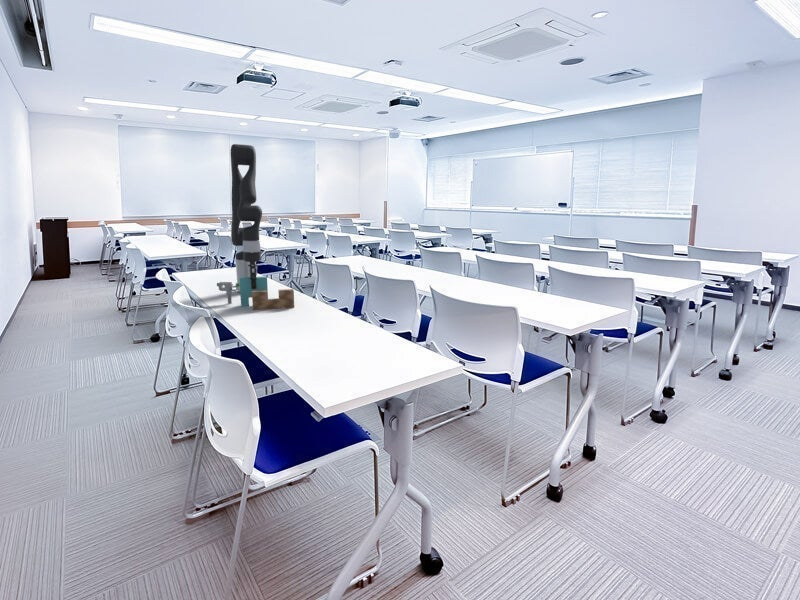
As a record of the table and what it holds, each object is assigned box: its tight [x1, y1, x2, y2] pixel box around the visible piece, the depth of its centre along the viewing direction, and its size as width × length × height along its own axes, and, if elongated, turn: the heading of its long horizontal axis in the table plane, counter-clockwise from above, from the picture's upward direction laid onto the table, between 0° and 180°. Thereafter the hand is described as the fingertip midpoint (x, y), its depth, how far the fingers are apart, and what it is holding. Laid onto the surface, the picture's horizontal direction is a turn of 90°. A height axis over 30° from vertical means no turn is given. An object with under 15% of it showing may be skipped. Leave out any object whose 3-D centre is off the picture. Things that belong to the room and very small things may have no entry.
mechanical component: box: [216, 281, 240, 305], centre depth 221 cm, size 3×10×10 cm, turn 89°
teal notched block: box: [239, 275, 269, 308], centre depth 218 cm, size 12×3×13 cm, turn 108°
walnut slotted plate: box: [251, 288, 295, 311], centre depth 214 cm, size 18×3×8 cm, turn 108°
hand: (253, 287), depth 218 cm, fingers closed on teal notched block, 3 cm apart
